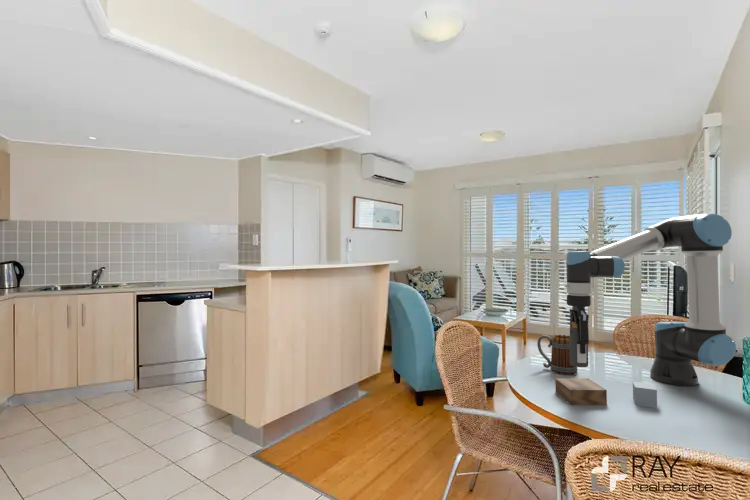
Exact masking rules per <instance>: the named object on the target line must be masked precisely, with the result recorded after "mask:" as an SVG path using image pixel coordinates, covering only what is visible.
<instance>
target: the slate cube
mask: <svg viewBox="0 0 750 500" xmlns="http://www.w3.org/2000/svg"><path fill="white" fill-rule="evenodd" d="M632 399H633V402H634V404H635V406H641V407H650V408H654V409H655V408H656V409H658V390H657V388H656V386H655V384H653V383H646V382H639V381H633V382H632Z"/></svg>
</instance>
